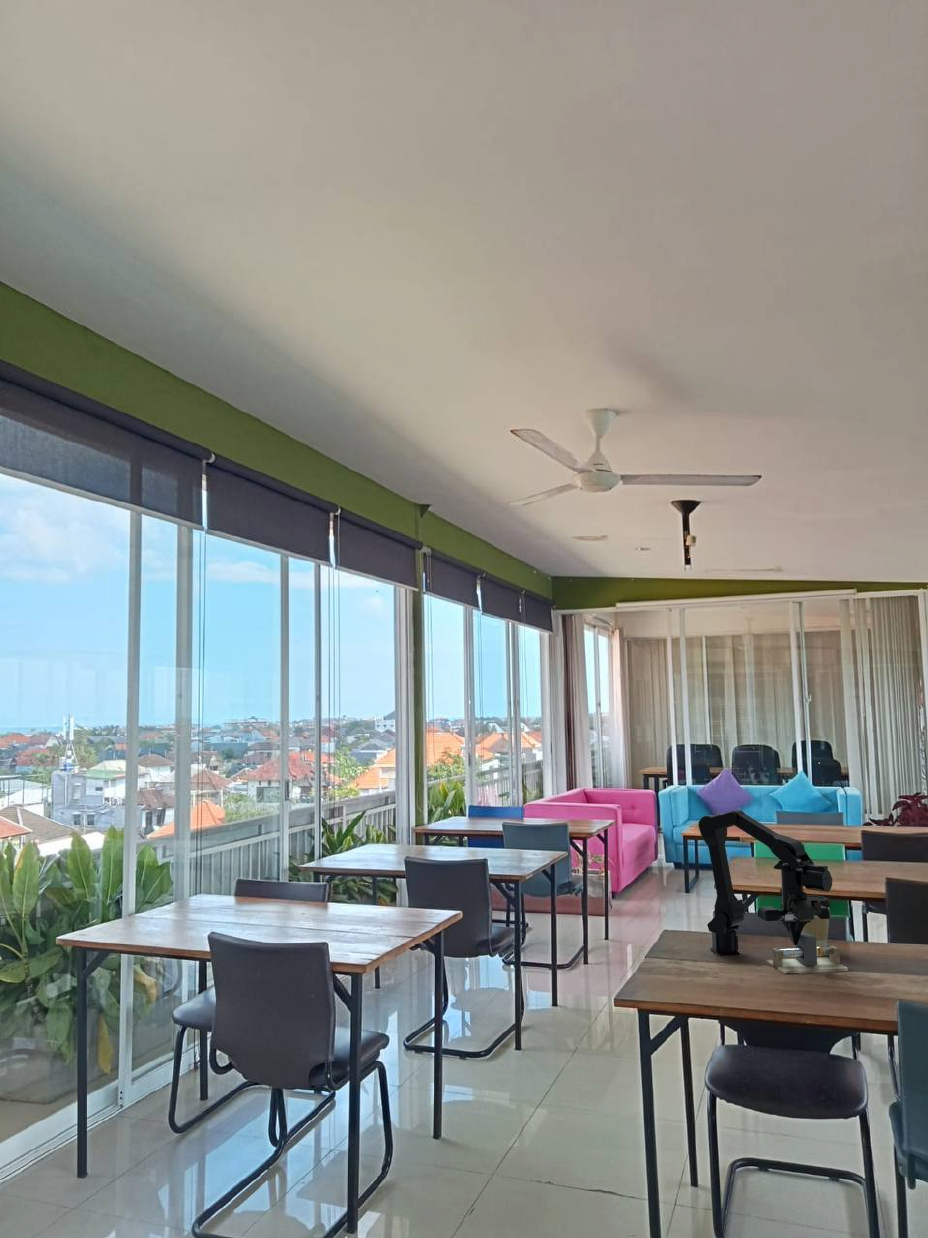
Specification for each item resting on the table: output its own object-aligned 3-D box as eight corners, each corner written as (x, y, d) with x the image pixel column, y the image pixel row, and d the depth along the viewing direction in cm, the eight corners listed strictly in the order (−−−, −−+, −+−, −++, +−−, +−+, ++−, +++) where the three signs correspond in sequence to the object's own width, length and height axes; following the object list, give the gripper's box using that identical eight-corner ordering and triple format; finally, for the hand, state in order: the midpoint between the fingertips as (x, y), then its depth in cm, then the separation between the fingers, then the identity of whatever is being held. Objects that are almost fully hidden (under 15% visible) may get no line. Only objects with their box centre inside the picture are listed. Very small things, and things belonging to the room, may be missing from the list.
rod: (777, 959, 250) (776, 950, 251) (773, 956, 253) (772, 947, 253) (839, 956, 253) (838, 947, 253) (834, 954, 255) (834, 945, 255)
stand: (784, 974, 246) (784, 955, 246) (766, 963, 257) (765, 944, 257) (847, 971, 248) (846, 952, 248) (827, 960, 259) (826, 942, 259)
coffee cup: (827, 946, 274) (825, 894, 275) (837, 955, 264) (834, 901, 266) (793, 945, 275) (791, 894, 276) (802, 954, 265) (800, 901, 267)
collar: (806, 965, 249) (805, 937, 250) (796, 959, 255) (795, 932, 256) (817, 965, 250) (815, 937, 250) (806, 959, 256) (805, 932, 256)
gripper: (773, 894, 245) (776, 954, 244) (839, 891, 247) (842, 951, 246) (755, 886, 256) (758, 943, 255) (819, 883, 258) (821, 940, 257)
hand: (795, 945), depth 253 cm, fingers closed
